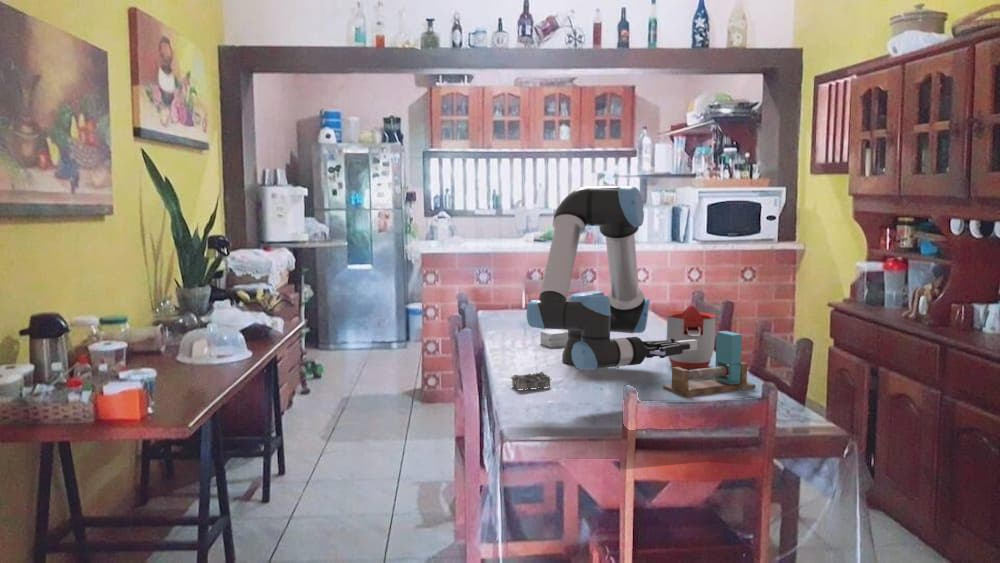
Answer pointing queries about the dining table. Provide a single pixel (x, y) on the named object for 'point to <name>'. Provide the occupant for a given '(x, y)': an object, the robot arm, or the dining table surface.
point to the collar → (729, 355)
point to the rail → (708, 386)
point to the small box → (554, 338)
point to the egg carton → (530, 381)
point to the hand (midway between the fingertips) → (695, 344)
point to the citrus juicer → (692, 336)
